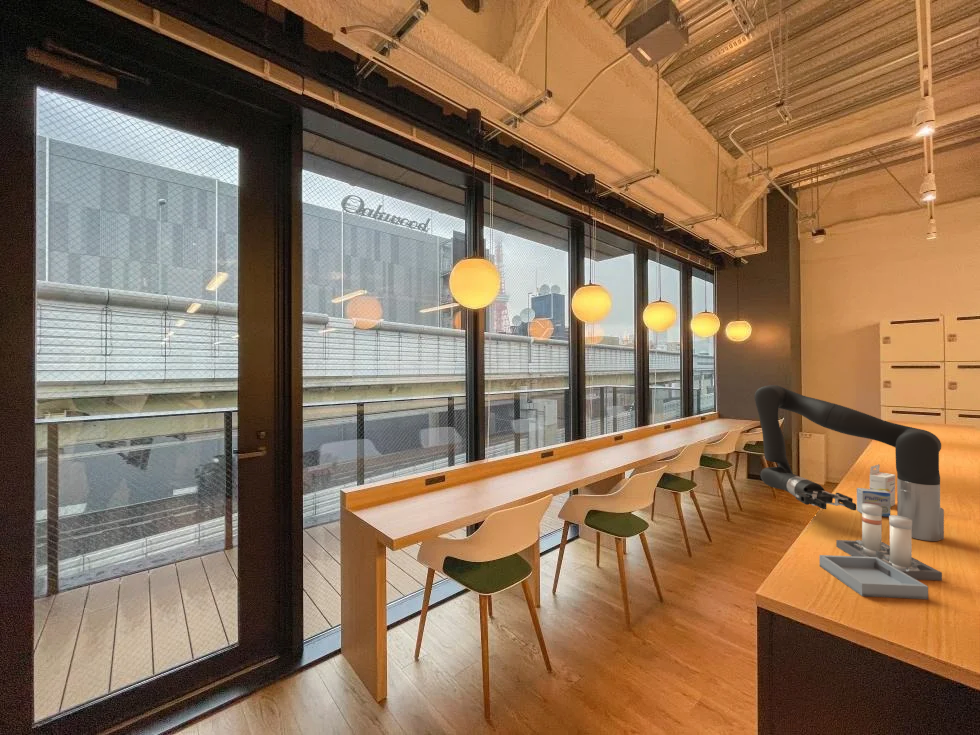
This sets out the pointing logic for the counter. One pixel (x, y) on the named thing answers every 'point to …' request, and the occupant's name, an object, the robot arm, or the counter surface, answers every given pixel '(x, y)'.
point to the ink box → (883, 482)
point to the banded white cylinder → (871, 529)
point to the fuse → (900, 541)
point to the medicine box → (874, 499)
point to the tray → (873, 577)
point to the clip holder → (916, 572)
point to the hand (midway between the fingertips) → (840, 506)
